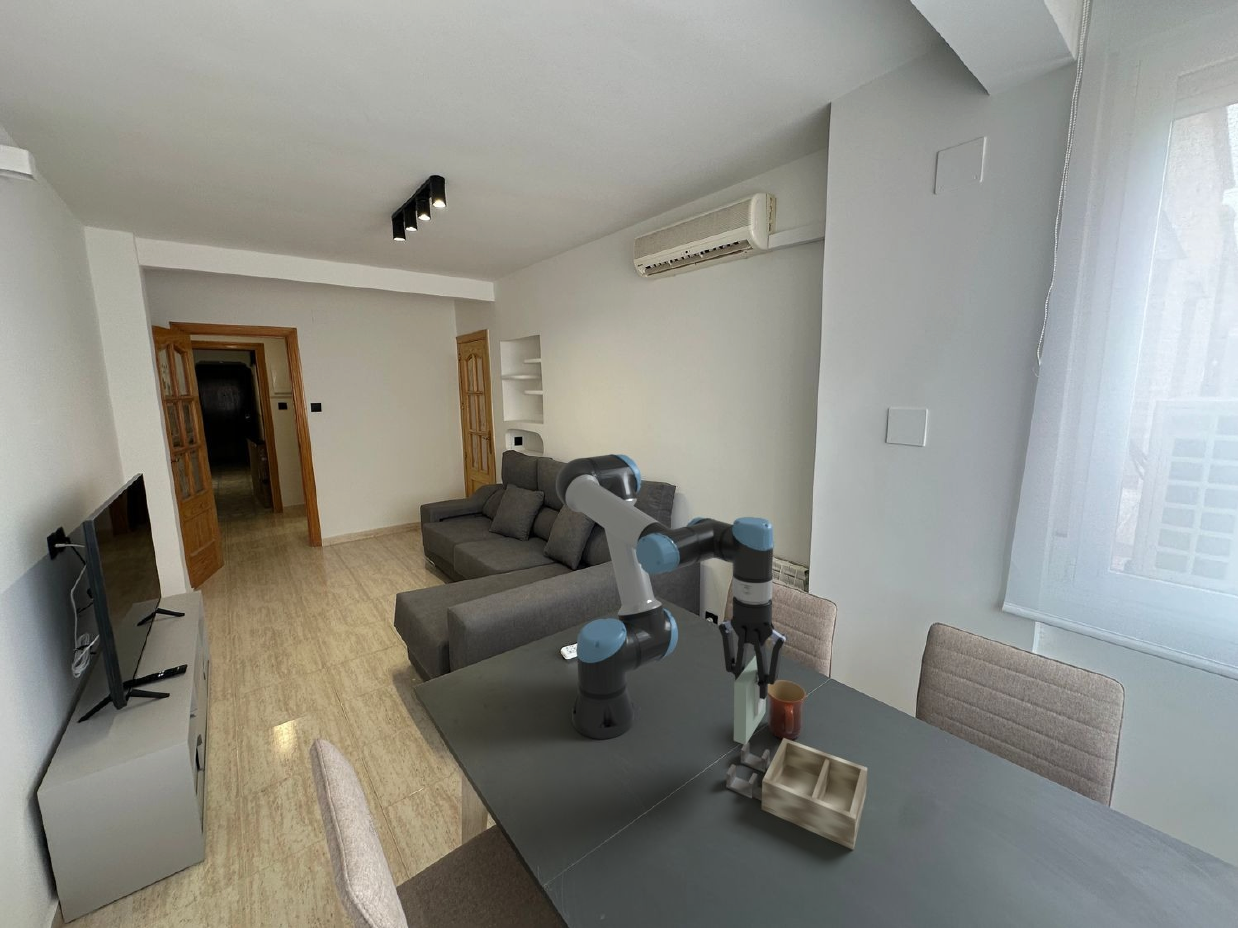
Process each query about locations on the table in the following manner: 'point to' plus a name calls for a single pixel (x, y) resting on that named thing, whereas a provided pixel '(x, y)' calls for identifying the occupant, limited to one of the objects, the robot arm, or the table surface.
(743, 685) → the block
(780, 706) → the mug
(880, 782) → the table surface
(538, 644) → the table surface
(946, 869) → the table surface
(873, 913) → the table surface
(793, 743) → the wooden divided box
